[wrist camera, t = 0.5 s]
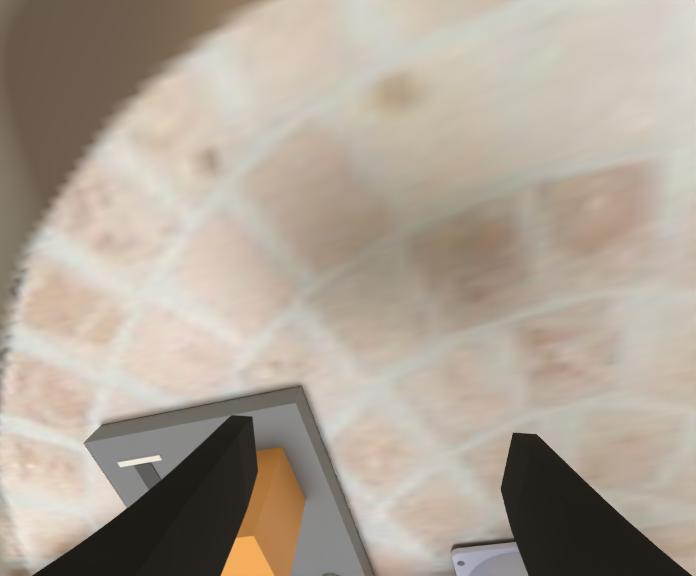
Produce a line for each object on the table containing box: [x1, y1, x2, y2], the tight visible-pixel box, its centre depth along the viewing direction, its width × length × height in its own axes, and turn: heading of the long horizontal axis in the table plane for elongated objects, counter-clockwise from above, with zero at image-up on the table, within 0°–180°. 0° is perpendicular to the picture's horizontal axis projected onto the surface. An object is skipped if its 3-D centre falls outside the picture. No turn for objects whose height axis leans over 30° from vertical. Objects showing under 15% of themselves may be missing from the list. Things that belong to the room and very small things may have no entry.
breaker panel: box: [84, 386, 374, 576], centre depth 24 cm, size 18×14×2 cm
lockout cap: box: [221, 447, 306, 576], centre depth 20 cm, size 4×4×5 cm
